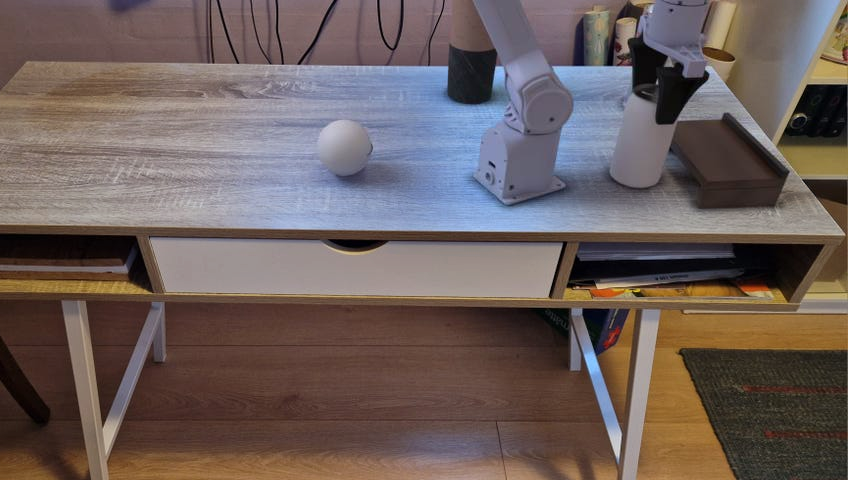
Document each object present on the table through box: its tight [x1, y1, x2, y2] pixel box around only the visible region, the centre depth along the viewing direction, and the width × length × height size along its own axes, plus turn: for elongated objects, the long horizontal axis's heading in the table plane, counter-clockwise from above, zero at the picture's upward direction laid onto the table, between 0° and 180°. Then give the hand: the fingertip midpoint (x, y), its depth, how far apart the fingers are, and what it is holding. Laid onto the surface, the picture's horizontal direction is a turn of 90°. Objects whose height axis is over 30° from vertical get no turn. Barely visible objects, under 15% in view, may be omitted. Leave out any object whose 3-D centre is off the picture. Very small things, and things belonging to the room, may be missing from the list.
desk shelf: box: [668, 112, 791, 210], centre depth 93 cm, size 10×16×5 cm, turn 4°
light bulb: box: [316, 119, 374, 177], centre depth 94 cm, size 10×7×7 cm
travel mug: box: [446, 0, 498, 105], centre depth 108 cm, size 8×8×20 cm
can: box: [609, 84, 680, 190], centre depth 90 cm, size 6×6×12 cm
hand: (652, 109), depth 88 cm, fingers open, 7 cm apart
